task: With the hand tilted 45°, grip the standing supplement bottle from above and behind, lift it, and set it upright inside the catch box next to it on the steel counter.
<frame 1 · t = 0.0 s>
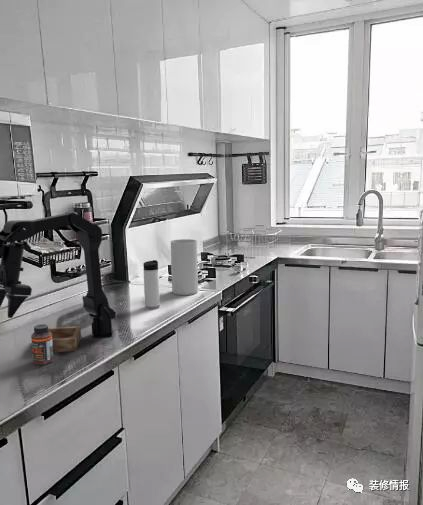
hand: (2, 314, 136), 15 cm above the worktop, tool pointing down, fingers open, 9 cm apart
catch box: (58, 344, 155), on the worktop
cylinder vase: (185, 292, 223), on the worktop
travel mug: (152, 307, 198), on the worktop
supplement bottle: (43, 362, 141), on the worktop
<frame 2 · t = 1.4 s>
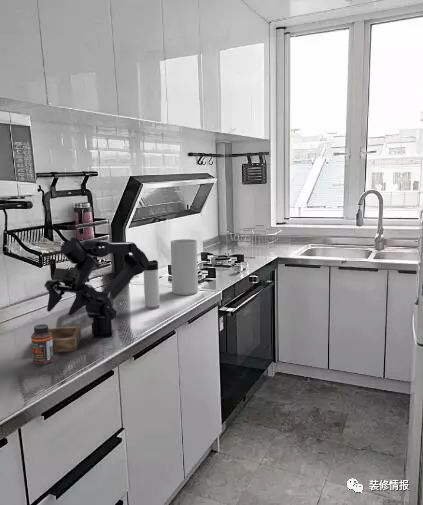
hand: (58, 312, 145), 13 cm above the worktop, tool tilted 45°, fingers open, 9 cm apart
nothing on the worktop moved.
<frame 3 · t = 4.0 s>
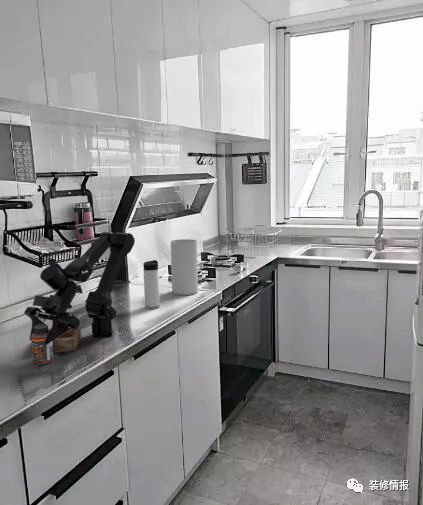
hand: (38, 342, 138), 7 cm above the worktop, tool tilted 45°, fingers closed on supplement bottle, 6 cm apart
supplement bottle: (43, 362, 141), on the worktop, touching gripper
everything else where it was.
when the fingers open (9 cm above the worktop, at t = 8.0 s): supplement bottle drops 1 cm, resting on catch box.
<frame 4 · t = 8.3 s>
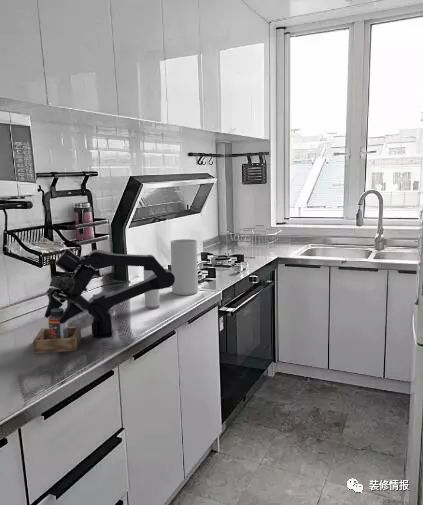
hand: (52, 319, 152), 9 cm above the worktop, tool tilted 45°, fingers open, 9 cm apart
supplement bottle: (59, 342, 154), point 1 cm above the worktop, touching catch box
everything else where it was.
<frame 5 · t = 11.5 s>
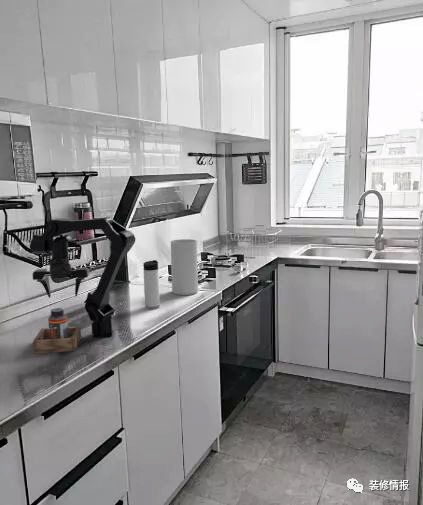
hand: (63, 296, 166), 13 cm above the worktop, tool pointing down, fingers open, 9 cm apart
nothing on the worktop moved.
at the end: supplement bottle inside the target area on the catch box (0.3 cm from its centre), point 0.8 cm above the catch box's base; supplement bottle tilted 0°; the gripper is holding nothing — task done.
